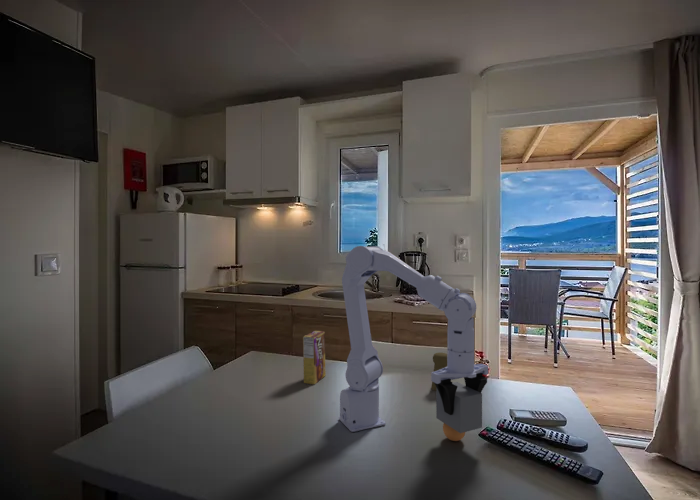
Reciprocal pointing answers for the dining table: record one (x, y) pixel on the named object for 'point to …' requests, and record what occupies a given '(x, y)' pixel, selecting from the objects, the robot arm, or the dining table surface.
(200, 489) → the dining table surface
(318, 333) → the candy box
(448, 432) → the ball
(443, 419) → the dark gray square block
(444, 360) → the cork
